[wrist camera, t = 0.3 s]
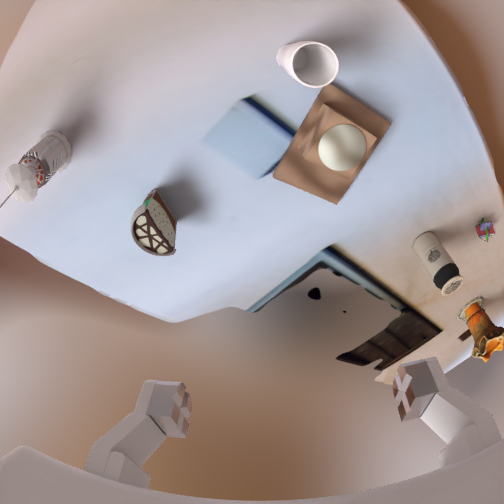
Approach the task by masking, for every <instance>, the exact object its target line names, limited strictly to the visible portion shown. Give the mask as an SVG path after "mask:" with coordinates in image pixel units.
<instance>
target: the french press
mask: <svg viewBox="0 0 504 504" xmlns="http://www.w3.org/2000/svg"><path fill="white" fill-rule="evenodd" d="M33 151H35V154H36V158H35V156H34V152H33ZM28 152H29V156H27V154H28ZM28 152H27V154H26V156H25V155H24V156H25V157H24V156H23V157H22V159H21V160H20V162H19V164H13V165H11V166H10V167H8V169H7V171H6V173H5V184H6V188H7V190H8V192H9V194H10V195H9V196H8V197H7V199H8V198H9V197H10V196H12V197H13V198H14V199H15V200H17V201H19V202H21V203H29V202H31V201H33V200H34V199H35V197H36V196H37V190H38V188H40V187H42V186H43V185H45V184H46V183H47V182H48V181H49V180H50V178H51V177H52V175H54V174H55V173H56V172H60V171H62V170H64V169H65V168H66V167H67V166H68V165H69V163H70V160H71V156H72V153H71V146H70V144H69V142H68V140H67V138H66V137H65V136H64V135H63V134H61V133H59V132H56V131H47V132H45V133H44V134H42V135H41V136H40V138H39V139H38V141H37V144H36V145H35V146H34V147H33V149H30V150H29V151H28ZM30 152H31V153H32V156H31V153H30ZM48 174H50V175H48ZM48 176H50V177H49V178H45V177H48ZM46 179H49V180H47V181H45V180H46ZM7 199H6V200H7ZM6 200H5V201H4V202H3V203H2V204H1V206H2V205H3V204H4V203H5V202H6ZM1 206H0V208H1Z"/></svg>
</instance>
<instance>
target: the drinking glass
mask: <svg viewBox="0 0 504 504" xmlns="http://www.w3.org/2000/svg"><path fill="white" fill-rule="evenodd" d="M277 62H278V64H279V65H280V67H282V68H283V69H284V70H285V71H286V72H287V73H288V74H289V75H290V76H291V77H292V78H293V79H294V80H296V81H297V82H299V83H301V84H303V85H305V86H308V87H313V88H319V87H324V86H326V85H328V84H330V83H331V82H332V81H333V80H334V79H335V78H336V76H337V74H338V71H339V61H338V58H337V55H336V54H335V52H334V51H333V50H332V49H331V48H330V47H329V46H327V45H325V44H323V43H320V42H315V41H300V42H296V43H293V44H286V45H284V46H282V47H281V48H280V49H279V50H278V52H277Z"/></svg>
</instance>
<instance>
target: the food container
mask: <svg viewBox="0 0 504 504" xmlns="http://www.w3.org/2000/svg"><path fill="white" fill-rule="evenodd" d="M176 225H177V221H176V219H175V218H174V216H173V214H172V213H171V211H170V209H169V208H168V206H167V205H166V203H165V201H164V200H163V198H162V196H161V195H160V193H159V191H158V190H157V188H156V189H154V190H152V191H151V192H150V193H149V194H148V196H147V197H146V199H145V201H144V203H143V204H142V205H141V206H140V207H139V208H138V209H137V210H136V211H135V212H134V214H133V216H132V219H131V233H132V236H133V239H134V241H135V242H136V244H137V245H138V246H139V247H140V248H141V249H142V250H144V251H145V252H147V253H150V254H152V255H156V256H170V255H174V253H175V252H176V249H175V237H176Z"/></svg>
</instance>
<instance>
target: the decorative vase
mask: <svg viewBox="0 0 504 504" xmlns="http://www.w3.org/2000/svg"><path fill="white" fill-rule="evenodd" d="M483 302H484V299H483V297H480V296H479V297H478V298H475V299H474V300H472V301H471V302H469V303H468V304H467V305H465V306H464V307H463V308H462V309H461V311H460V312H459V314H458V316H457V319H458V320H462V319H464V318H466V320H467V322H466V323H467V325H468V327H469V329H470V331H471V333H472V335H473V338H474V341H475V344H474V348H473V351H472V357H475V358H482V359H484V362H486V361H487V360H488V359H489V358H490V356H491V354H492V353H493V352H494V351H495V350H500V351H501V350H502V349H503V347H504V345H503V342H504V328H503V327H497V326H495V325H494V324H493V323H492V321H491V320H490V318H489V316H488V315H487V314H486V313H485V310H484V309H482V308H481V307H480V306H481V305H482V303H483Z"/></svg>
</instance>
